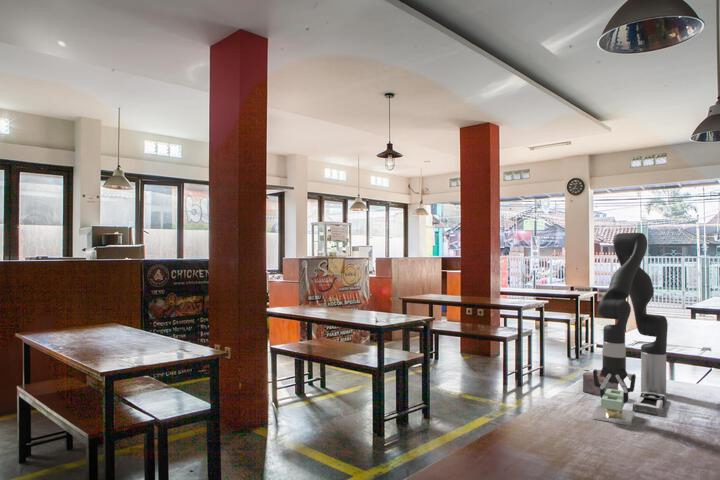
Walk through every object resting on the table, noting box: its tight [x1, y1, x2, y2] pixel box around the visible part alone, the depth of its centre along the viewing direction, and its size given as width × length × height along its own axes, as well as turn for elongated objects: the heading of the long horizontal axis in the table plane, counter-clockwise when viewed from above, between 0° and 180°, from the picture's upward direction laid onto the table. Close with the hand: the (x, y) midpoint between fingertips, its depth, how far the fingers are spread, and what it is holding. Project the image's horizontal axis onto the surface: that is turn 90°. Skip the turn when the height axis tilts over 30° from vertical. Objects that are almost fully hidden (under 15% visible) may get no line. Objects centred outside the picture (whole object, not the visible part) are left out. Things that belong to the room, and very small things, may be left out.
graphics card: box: [631, 392, 667, 418], centre depth 192 cm, size 10×3×25 cm
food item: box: [582, 371, 619, 397], centre depth 207 cm, size 14×8×10 cm, turn 42°
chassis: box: [592, 399, 636, 426], centre depth 178 cm, size 13×12×8 cm
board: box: [600, 389, 626, 411], centre depth 179 cm, size 16×6×3 cm, turn 146°
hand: (614, 400), depth 179 cm, fingers closed on board, 6 cm apart
